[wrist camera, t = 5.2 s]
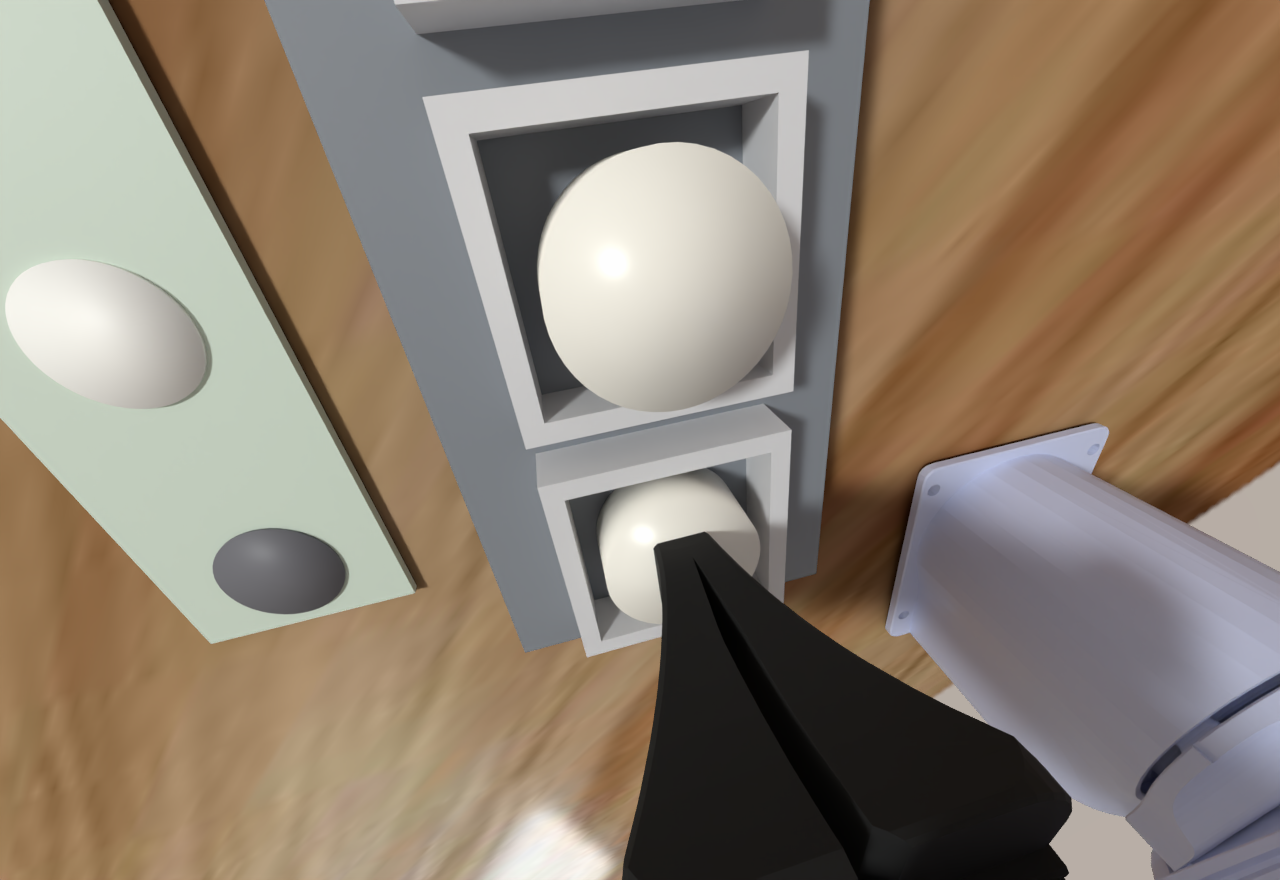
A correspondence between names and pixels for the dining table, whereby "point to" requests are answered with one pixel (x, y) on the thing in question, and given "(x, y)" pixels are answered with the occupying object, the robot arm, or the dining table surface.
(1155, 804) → the robot arm
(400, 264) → the button board
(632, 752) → the dining table surface
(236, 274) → the card
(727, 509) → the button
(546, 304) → the button middle
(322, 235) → the dining table surface
